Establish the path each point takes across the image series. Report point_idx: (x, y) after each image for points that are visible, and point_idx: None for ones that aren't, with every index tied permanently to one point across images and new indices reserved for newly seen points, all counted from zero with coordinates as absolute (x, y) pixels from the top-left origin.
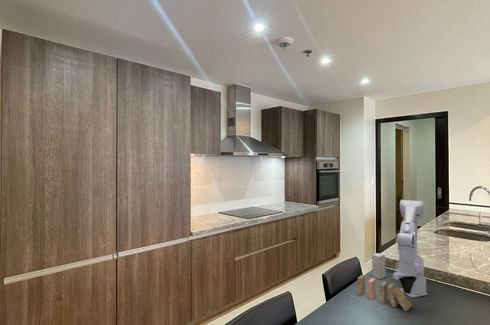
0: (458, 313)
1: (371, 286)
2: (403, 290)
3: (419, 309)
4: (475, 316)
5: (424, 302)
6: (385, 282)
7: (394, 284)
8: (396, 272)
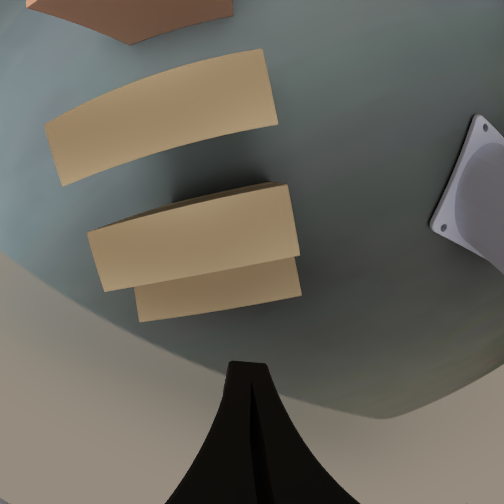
0: (387, 388)
1: (64, 16)
2: (229, 371)
3: (302, 317)
4: (397, 407)
5: (412, 292)
6: (225, 107)
7: (294, 252)
8: None
